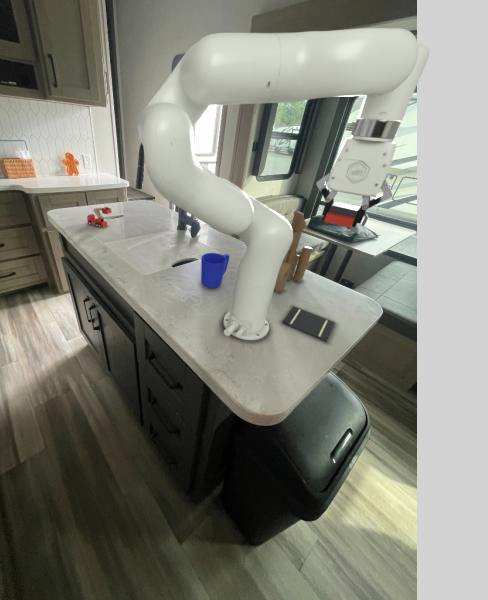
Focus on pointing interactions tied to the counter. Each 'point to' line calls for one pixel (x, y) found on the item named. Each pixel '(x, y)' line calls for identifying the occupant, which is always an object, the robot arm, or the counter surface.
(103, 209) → the toy fire truck
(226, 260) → the mug
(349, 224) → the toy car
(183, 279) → the counter surface
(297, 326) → the mat
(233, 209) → the robot arm
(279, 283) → the wooden toy
